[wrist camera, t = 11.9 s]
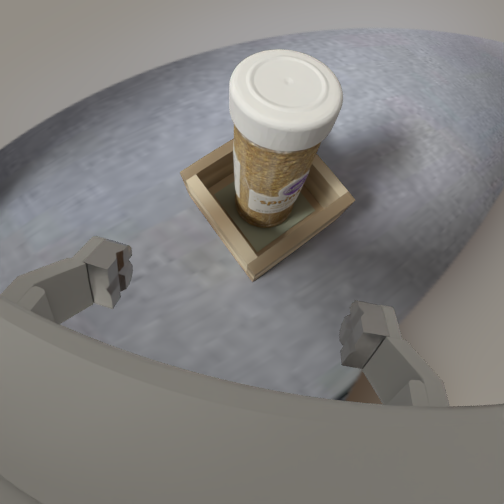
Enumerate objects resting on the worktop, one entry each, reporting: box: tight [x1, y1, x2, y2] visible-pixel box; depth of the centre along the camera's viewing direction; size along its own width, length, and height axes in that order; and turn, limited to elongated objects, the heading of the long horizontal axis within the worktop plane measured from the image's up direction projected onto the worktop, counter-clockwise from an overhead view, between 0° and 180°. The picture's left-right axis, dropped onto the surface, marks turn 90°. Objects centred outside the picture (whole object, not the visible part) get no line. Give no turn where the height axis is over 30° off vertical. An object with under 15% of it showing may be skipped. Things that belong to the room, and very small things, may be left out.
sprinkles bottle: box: [229, 49, 343, 228], centre depth 17 cm, size 5×5×14 cm
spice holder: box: [180, 139, 355, 282], centre depth 22 cm, size 9×9×4 cm
